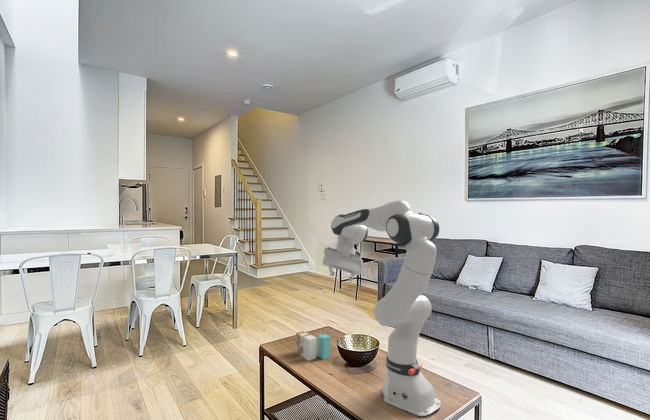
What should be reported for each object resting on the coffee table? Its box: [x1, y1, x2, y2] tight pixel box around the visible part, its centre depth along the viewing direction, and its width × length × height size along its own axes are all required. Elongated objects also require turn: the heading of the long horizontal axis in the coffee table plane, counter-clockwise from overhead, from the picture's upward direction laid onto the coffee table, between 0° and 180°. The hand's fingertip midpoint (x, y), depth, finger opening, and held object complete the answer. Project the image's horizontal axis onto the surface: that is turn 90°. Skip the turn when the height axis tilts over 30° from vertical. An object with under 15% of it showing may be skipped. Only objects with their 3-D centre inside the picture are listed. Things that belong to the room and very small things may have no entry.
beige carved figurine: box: [295, 331, 310, 357], centre depth 166 cm, size 4×4×10 cm
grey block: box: [302, 334, 318, 362], centre depth 161 cm, size 4×4×10 cm
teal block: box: [316, 333, 332, 360], centre depth 163 cm, size 4×4×10 cm
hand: (341, 278), depth 159 cm, fingers open, 8 cm apart
